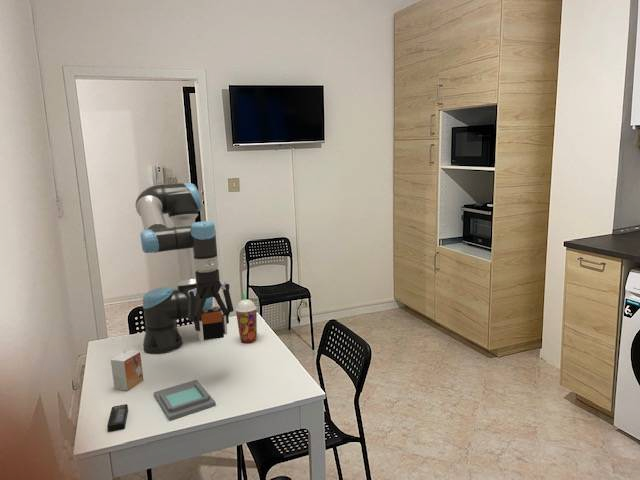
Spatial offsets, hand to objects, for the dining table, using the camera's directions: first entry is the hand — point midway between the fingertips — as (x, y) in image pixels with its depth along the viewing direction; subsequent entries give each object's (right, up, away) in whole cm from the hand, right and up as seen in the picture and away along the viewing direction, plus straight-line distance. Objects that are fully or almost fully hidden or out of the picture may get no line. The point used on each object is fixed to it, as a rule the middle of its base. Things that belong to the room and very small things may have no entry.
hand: (213, 336), depth 159 cm
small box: (-29, -17, +2) cm, 33 cm away
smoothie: (+6, -9, +35) cm, 37 cm away
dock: (-7, -18, -10) cm, 22 cm away
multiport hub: (-23, -21, -19) cm, 37 cm away
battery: (0, -1, 0) cm, 1 cm away
